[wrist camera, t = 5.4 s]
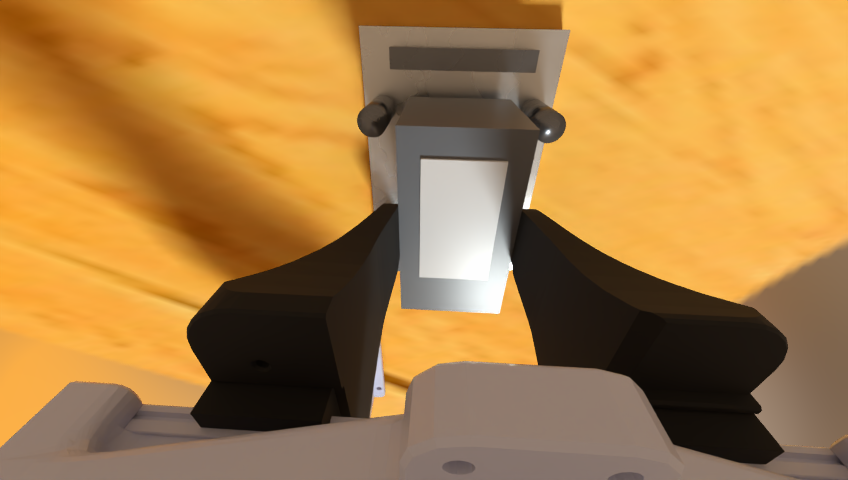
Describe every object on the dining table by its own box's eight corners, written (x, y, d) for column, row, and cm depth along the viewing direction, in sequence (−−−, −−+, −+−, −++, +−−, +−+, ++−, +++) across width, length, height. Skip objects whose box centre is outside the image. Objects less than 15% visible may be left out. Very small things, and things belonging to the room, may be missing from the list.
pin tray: (511, 260, 21) (524, 303, 18) (380, 254, 21) (369, 295, 18) (562, 30, 14) (600, 28, 11) (363, 26, 14) (339, 23, 11)
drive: (486, 248, 18) (499, 315, 14) (411, 245, 18) (401, 310, 14) (510, 99, 13) (540, 130, 9) (410, 96, 14) (394, 126, 9)
